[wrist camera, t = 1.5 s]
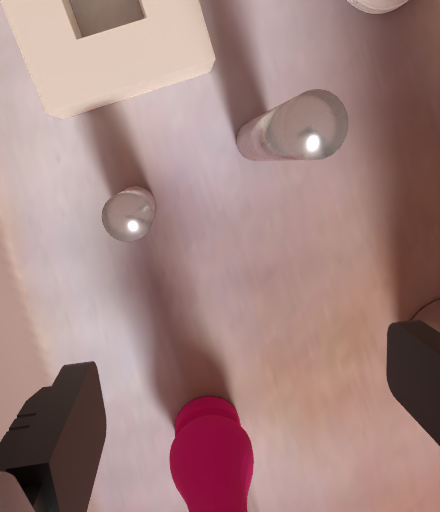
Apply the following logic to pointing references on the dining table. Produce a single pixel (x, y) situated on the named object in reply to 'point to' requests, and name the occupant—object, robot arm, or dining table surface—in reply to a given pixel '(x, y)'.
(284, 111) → the tall pin
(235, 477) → the pepper mill
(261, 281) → the dining table surface
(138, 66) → the socket block
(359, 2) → the vase
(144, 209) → the short pin
